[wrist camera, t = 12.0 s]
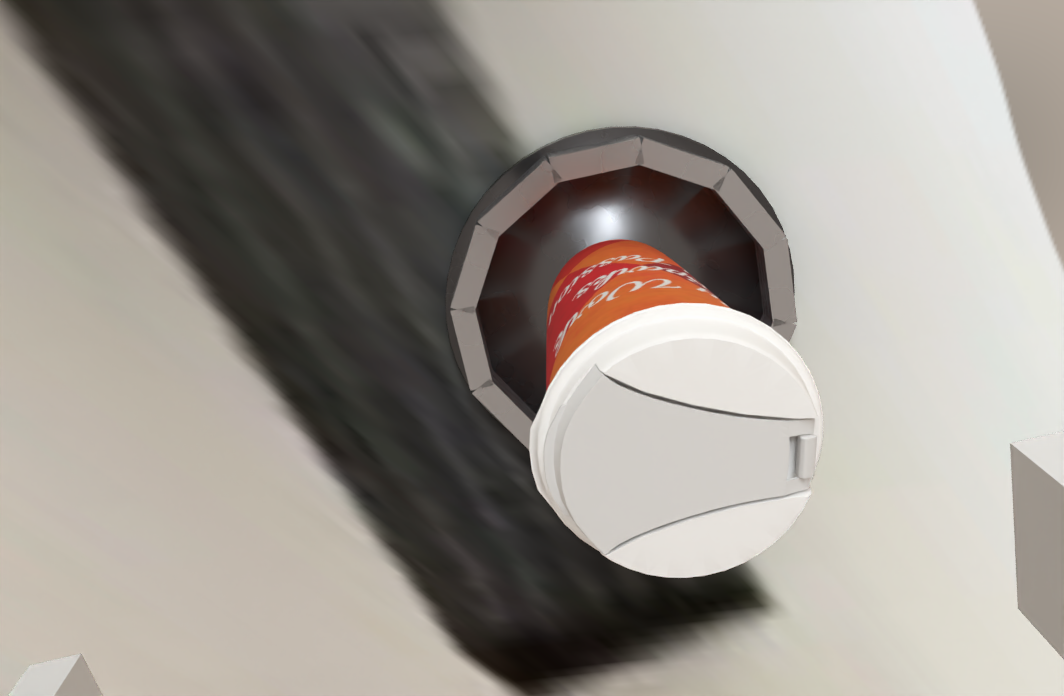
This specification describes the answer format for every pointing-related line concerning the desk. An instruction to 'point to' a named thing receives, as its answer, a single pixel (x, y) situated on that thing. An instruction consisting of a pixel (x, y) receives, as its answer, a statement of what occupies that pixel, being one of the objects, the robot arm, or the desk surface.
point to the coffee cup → (669, 417)
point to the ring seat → (595, 216)
